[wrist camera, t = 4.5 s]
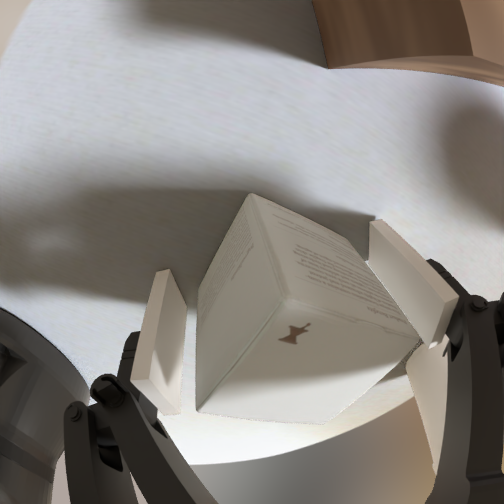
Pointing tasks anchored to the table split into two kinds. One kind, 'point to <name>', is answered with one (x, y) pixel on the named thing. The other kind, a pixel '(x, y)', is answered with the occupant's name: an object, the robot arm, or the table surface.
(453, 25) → the walnut block
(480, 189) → the table surface
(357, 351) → the product box
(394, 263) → the robot arm
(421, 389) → the foam cup
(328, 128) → the table surface
